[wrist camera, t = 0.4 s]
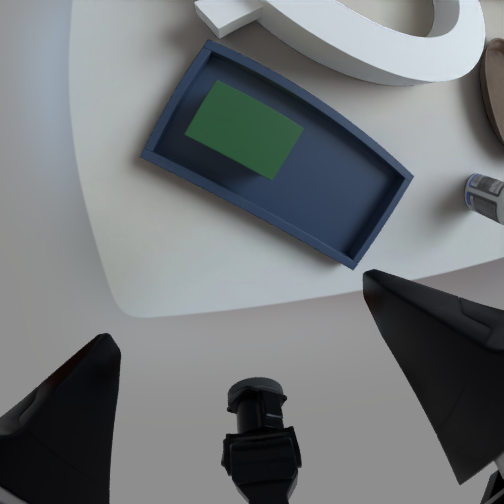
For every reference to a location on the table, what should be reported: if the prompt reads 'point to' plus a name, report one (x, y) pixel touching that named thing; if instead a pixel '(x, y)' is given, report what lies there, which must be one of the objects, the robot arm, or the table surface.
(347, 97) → the table surface
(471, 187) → the pill bottle
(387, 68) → the ring with crossbar
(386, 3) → the table surface
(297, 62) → the table surface
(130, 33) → the table surface
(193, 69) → the tray
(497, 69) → the plant saucer
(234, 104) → the sponge
